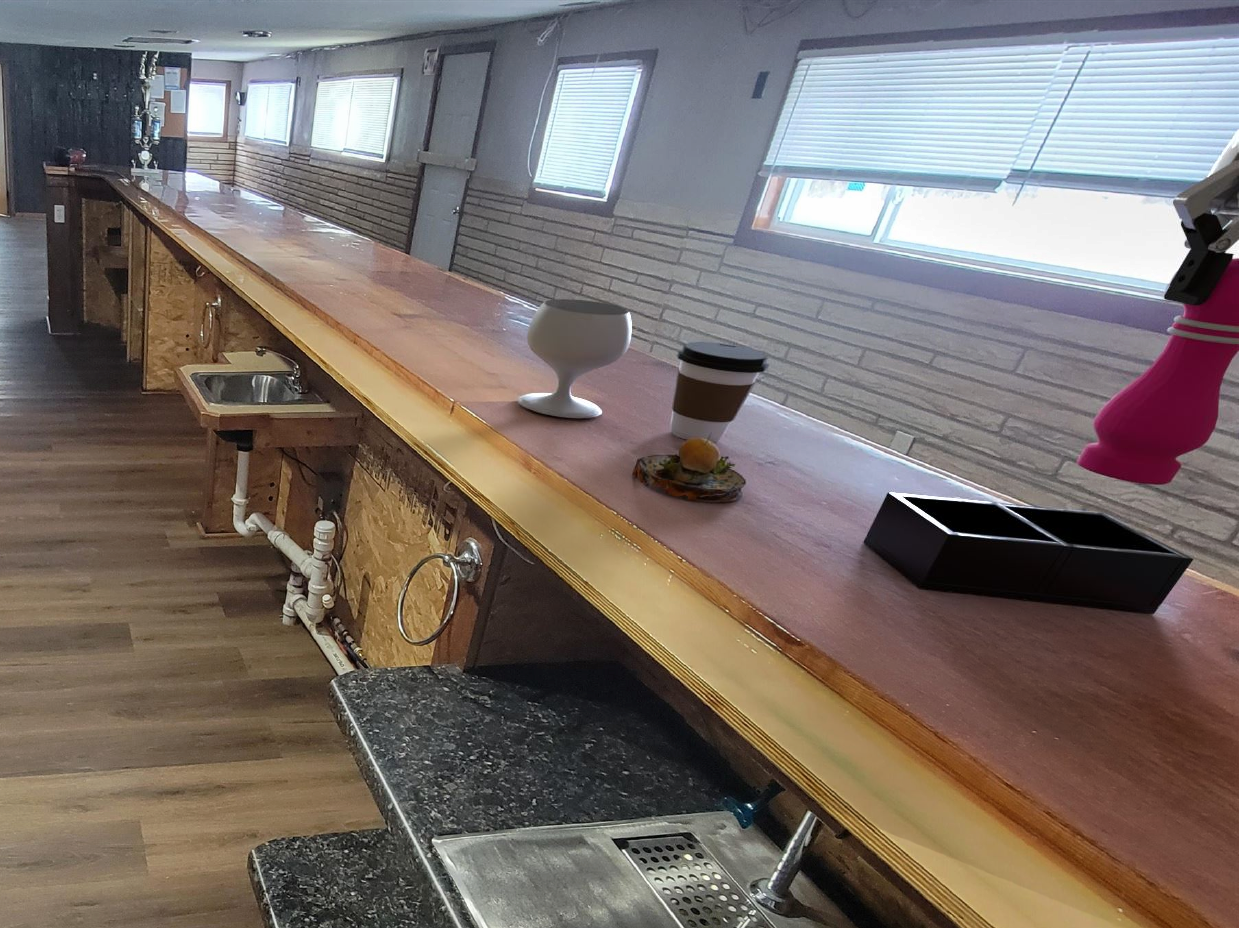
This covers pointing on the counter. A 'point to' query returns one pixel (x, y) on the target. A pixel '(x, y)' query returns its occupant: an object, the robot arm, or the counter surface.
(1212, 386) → the pepper mill
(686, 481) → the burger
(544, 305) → the chalice
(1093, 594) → the divided box
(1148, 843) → the counter surface
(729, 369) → the coffee cup
